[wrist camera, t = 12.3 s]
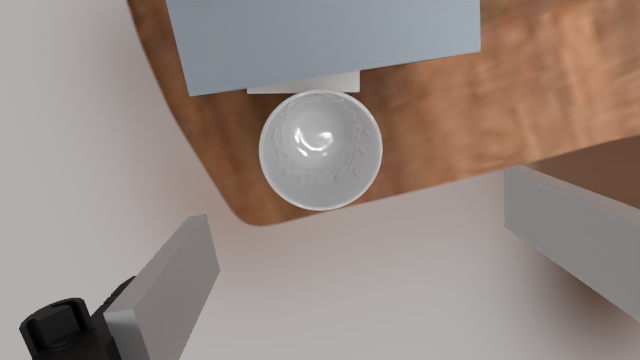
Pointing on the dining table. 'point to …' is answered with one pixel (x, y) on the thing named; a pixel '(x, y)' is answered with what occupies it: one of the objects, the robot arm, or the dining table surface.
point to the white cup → (320, 149)
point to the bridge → (313, 38)
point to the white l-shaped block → (313, 84)
